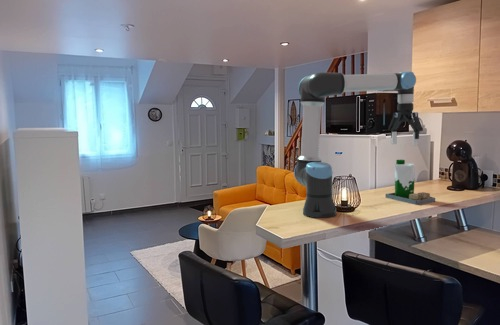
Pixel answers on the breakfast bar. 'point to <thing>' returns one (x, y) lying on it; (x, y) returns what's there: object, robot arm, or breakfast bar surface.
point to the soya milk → (404, 178)
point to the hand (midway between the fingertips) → (404, 144)
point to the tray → (392, 196)
